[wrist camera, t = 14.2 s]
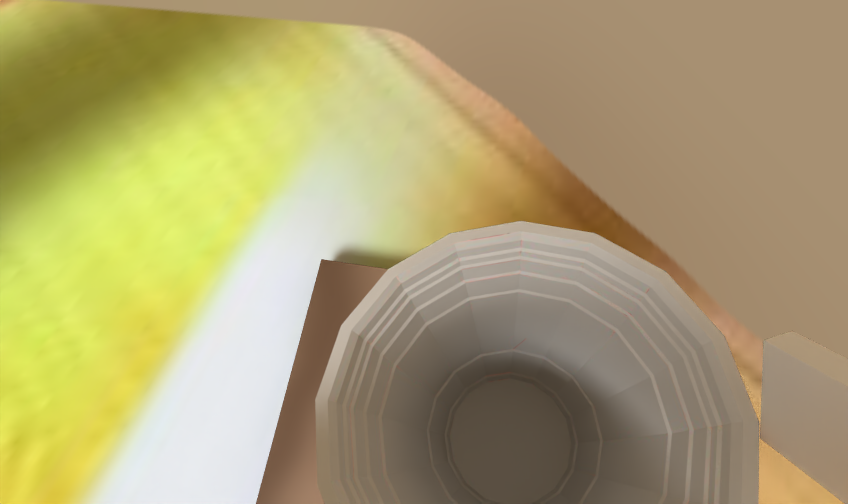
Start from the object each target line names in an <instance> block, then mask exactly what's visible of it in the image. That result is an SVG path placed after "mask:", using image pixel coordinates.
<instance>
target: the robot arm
mask: <svg viewBox="0 0 848 504" xmlns="http://www.w3.org/2000/svg"><path fill="white" fill-rule="evenodd" d="M760 438H761V439H762V440H763V441H764V442H766V443H767V444H768V445H770V446H771V447H772V448H773V449H775V450H776V451H777V452H779V453H780V454H781V455H783V456H784V457H785V458H786V459H788V460H789V461H790V462H792V463H793V464H794V465H795V466H797V467H798V468H799V469H801V470H802V471H803V472H805V473H806V474H807V475H808V476H810V477H811V478H812V479H814V480H815V481H816V482H817V483H819V484H820V485H821V486H823V487H824V488H825V489H827V490H828V491H829V492H830V493H832V494H833V495H834V496H836V497H837V498H838V499H839V500H841V501H842V502H843V503H845V504H848V358H846V357H844V356H842V355H840V354H838V353H836V352H834V351H832V350H830V349H828V348H826V347H824V346H822V345H820V344H818V343H816V342H814V341H812V340H810V339H808V338H806V337H804V336H802V335H800V334H798V333H796V332H794V331H790V332H787V333H784V334H781V335H778V336H774V337H771V338H768V339H765V340H764V341H763V369H762V397H761V425H760Z"/></svg>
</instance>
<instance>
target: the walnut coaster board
mask: <svg viewBox="0 0 848 504" xmlns="http://www.w3.org/2000/svg"><path fill="white" fill-rule="evenodd" d="M387 270H388V269H384V268H377V267H370V266H364V265H357V264H350V263H343V262H336V261H330V260H323V259H321V263H320V267H319V270H318V274H317V278H316V282H315V285H314V289H313V293H312V297H311V300H310V304H309V308H308V311H307V315H306V319H305V323H304V326H303V330H302V334H301V338H300V341H299V345H298V349H297V353H296V356H295V360H294V364H293V367H292V371H291V375H290V379H289V382H288V386H287V390H286V394H285V397H284V401H283V405H282V408H281V412H280V416H279V420H278V423H277V427H276V431H275V435H274V438H273V442H272V446H271V450H270V453H269V457H268V461H267V464H266V468H265V472H264V476H263V479H262V483H261V487H260V491H259V494H258V498H257V502H256V504H325V503H324V501H323V498H322V496H321V493H320V491H319V489H318V486H317V449H316V410H315V399H316V396H317V393H318V390H319V388H320V385H321V382H322V379H323V376H324V373H325V370H326V368H327V365H328V362H329V359H330V356H331V353H332V350H333V348H334V345H335V342H336V339H337V336H338V333H339V330H340V327H341V325H342V324H343V323H344V321H345V320H346V319H347V318H348V317H349V315H350V314H351V313H352V312H353V311H354V309H355V308H356V307H357V306H358V305H359V303H360V302H361V301H362V300H363V299H364V297H365V296H366V295H367V294H368V293H369V291H370V290H371V289H372V288H373V287H374V285H375V284H376V283H377V282H378V281H379V279H380V278H381V277H382V276H383V275H384V273H385V272H386V271H387Z"/></svg>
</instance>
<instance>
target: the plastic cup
mask: <svg viewBox="0 0 848 504" xmlns="http://www.w3.org/2000/svg"><path fill="white" fill-rule="evenodd" d="M315 410H316V449H317V486H318V489H319V491H320V493H321V496H322V498H323V501H324V503H325V504H758V490H759V421H758V418H757V416H756V413H755V411H754V408H753V406H752V403H751V401H750V398H749V396H748V393H747V391H746V388H745V386H744V383H743V381H742V378H741V376H740V373H739V371H738V368H737V366H736V363H735V361H734V358H733V356H732V353H731V351H730V348H729V346H728V343H727V341H726V338H725V336H724V335H723V334H722V333H721V331H720V330H719V329H718V328H717V327H716V326H715V325H714V324H713V323H712V322H711V320H710V319H709V318H708V317H707V316H706V315H705V314H704V313H703V312H702V311H701V309H700V308H699V307H698V306H697V305H696V304H695V303H694V302H693V301H692V300H691V298H690V297H689V296H688V295H687V294H686V293H685V292H684V291H683V290H682V289H681V287H680V286H679V285H678V284H677V283H676V282H675V281H674V280H673V279H672V278H671V276H670V275H669V274H668V273H667V272H666V271H664V270H662V269H661V268H659V267H657V266H655V265H653V264H651V263H649V262H648V261H646V260H644V259H642V258H640V257H638V256H637V255H635V254H633V253H631V252H629V251H627V250H625V249H624V248H622V247H620V246H618V245H616V244H614V243H613V242H611V241H609V240H607V239H605V238H603V237H601V236H600V235H598V234H596V233H591V232H585V231H579V230H573V229H567V228H561V227H555V226H549V225H543V224H537V223H531V222H525V221H518V222H512V223H506V224H501V225H495V226H489V227H483V228H478V229H472V230H466V231H461V232H455V233H450V234H448V235H446V236H445V237H443V238H441V239H439V240H438V241H436V242H434V243H433V244H431V245H429V246H427V247H426V248H424V249H422V250H420V251H419V252H417V253H415V254H413V255H412V256H410V257H408V258H406V259H405V260H403V261H401V262H399V263H398V264H396V265H394V266H392V267H391V268H389V269H388V270H387V271H386V272H385V273H384V275H383V276H382V277H381V278H380V279H379V281H378V282H377V283H376V284H375V285H374V287H373V288H372V289H371V290H370V291H369V293H368V294H367V295H366V296H365V297H364V299H363V300H362V301H361V302H360V303H359V305H358V306H357V307H356V308H355V309H354V311H353V312H352V313H351V314H350V315H349V317H348V318H347V319H346V320H345V321H344V323H343V324H342V325H341V327H340V330H339V333H338V336H337V339H336V342H335V345H334V348H333V350H332V353H331V356H330V359H329V362H328V365H327V368H326V370H325V373H324V376H323V379H322V382H321V385H320V388H319V390H318V393H317V396H316V399H315Z"/></svg>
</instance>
